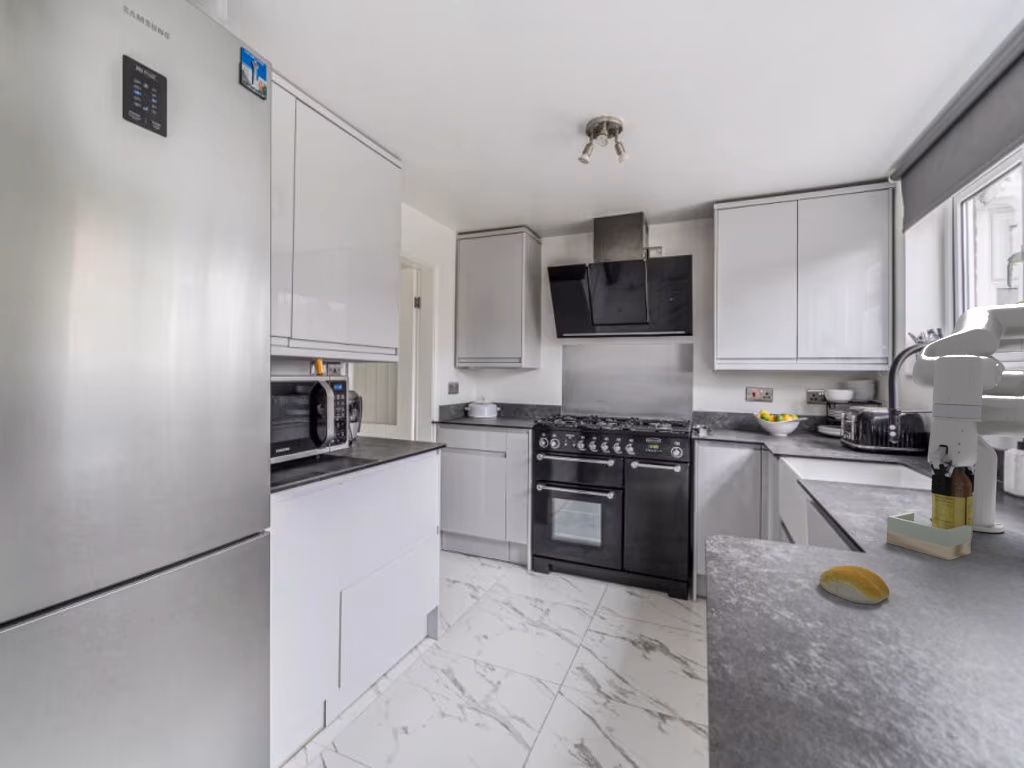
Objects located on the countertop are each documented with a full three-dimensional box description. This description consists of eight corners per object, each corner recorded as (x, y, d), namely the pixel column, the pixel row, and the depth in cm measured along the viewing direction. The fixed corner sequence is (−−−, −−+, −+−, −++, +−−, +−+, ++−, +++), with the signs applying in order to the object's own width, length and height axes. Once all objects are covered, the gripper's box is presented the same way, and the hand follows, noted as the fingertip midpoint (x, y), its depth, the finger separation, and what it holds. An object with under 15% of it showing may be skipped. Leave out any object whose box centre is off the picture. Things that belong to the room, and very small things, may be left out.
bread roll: (895, 596, 70) (896, 571, 70) (873, 611, 65) (874, 584, 65) (834, 576, 77) (835, 553, 77) (810, 588, 72) (811, 563, 72)
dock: (908, 537, 98) (909, 512, 98) (970, 553, 89) (971, 526, 89) (886, 542, 94) (887, 516, 94) (948, 560, 85) (950, 531, 85)
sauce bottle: (954, 537, 98) (958, 447, 98) (981, 548, 92) (985, 452, 92) (922, 535, 99) (925, 446, 99) (946, 546, 93) (950, 450, 93)
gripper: (952, 412, 102) (948, 486, 103) (913, 411, 95) (910, 491, 95) (998, 414, 96) (994, 494, 96) (960, 414, 88) (956, 501, 88)
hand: (952, 493), depth 95 cm, fingers open, 9 cm apart
